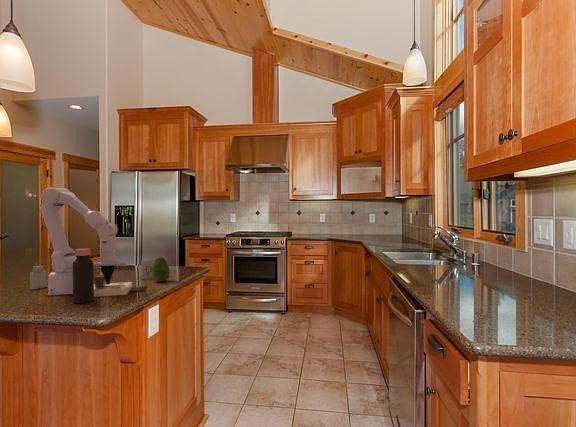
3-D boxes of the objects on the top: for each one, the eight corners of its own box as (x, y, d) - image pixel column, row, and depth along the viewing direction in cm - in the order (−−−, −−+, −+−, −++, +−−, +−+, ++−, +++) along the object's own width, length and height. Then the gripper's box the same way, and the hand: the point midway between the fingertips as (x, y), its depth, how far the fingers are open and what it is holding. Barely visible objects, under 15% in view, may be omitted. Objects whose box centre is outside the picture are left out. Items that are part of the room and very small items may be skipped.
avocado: (157, 279, 162) (157, 255, 162) (172, 280, 161) (172, 256, 161) (148, 283, 154) (148, 258, 154) (164, 284, 153) (164, 258, 153)
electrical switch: (141, 279, 162) (141, 260, 163) (140, 278, 167) (140, 260, 168) (161, 278, 166) (161, 259, 167) (160, 277, 171) (160, 259, 172)
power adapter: (47, 286, 147) (46, 260, 147) (34, 289, 142) (34, 262, 142) (42, 286, 148) (41, 259, 148) (29, 289, 143) (29, 261, 143)
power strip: (85, 297, 131) (85, 290, 130) (94, 289, 142) (94, 283, 142) (144, 293, 136) (144, 287, 136) (148, 286, 148) (148, 281, 148)
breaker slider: (95, 287, 135) (94, 277, 135) (97, 284, 139) (97, 275, 139) (103, 286, 136) (103, 276, 136) (105, 284, 140) (105, 274, 140)
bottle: (74, 300, 126) (74, 248, 126) (95, 298, 129) (94, 247, 129) (71, 305, 120) (70, 250, 120) (92, 302, 123) (91, 249, 122)
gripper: (85, 253, 132) (85, 287, 132) (124, 252, 136) (125, 284, 136) (90, 251, 139) (91, 283, 139) (128, 250, 143) (128, 281, 143)
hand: (108, 283), depth 138 cm, fingers closed
